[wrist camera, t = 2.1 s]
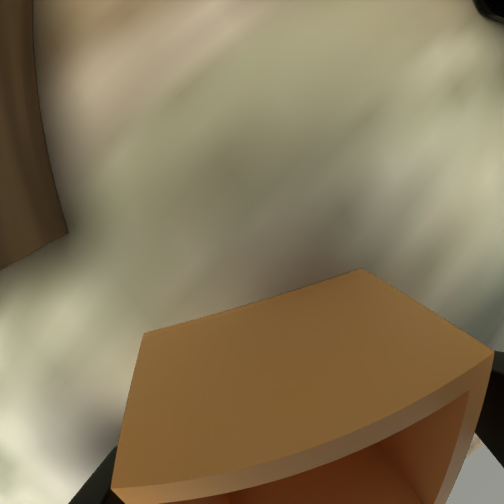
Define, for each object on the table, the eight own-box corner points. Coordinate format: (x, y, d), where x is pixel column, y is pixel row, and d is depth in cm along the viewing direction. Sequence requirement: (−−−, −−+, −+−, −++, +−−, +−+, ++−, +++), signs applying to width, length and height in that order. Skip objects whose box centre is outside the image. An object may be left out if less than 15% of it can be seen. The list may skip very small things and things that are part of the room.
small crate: (359, 266, 9) (494, 351, 4) (371, 416, 10) (441, 511, 5) (144, 331, 8) (110, 488, 3) (213, 467, 10) (232, 586, 5)
